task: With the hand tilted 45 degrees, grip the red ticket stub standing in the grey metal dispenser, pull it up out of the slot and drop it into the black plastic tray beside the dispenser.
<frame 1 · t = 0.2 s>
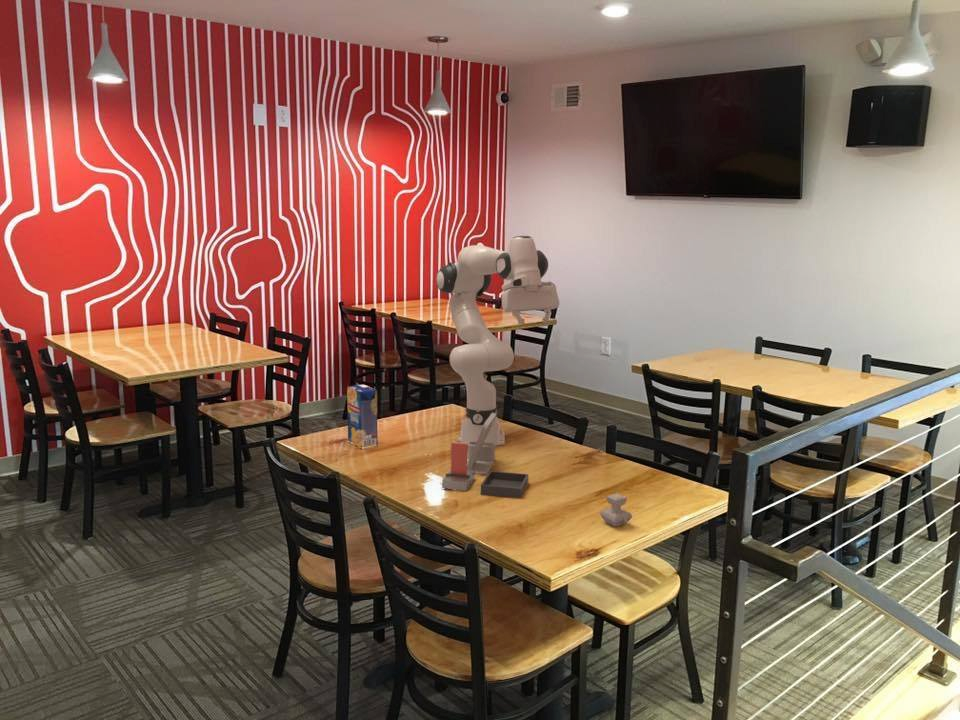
hand: (534, 323, 257), 52 cm above the table, tool tilted 20°, fingers open, 8 cm apart
phone holder: (477, 466, 273), on the table
stamp: (615, 524, 225), on the table
beverage box: (362, 444, 296), on the table
tray: (504, 488, 251), on the table
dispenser: (458, 483, 255), on the table
ticket: (458, 483, 255), resting in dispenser
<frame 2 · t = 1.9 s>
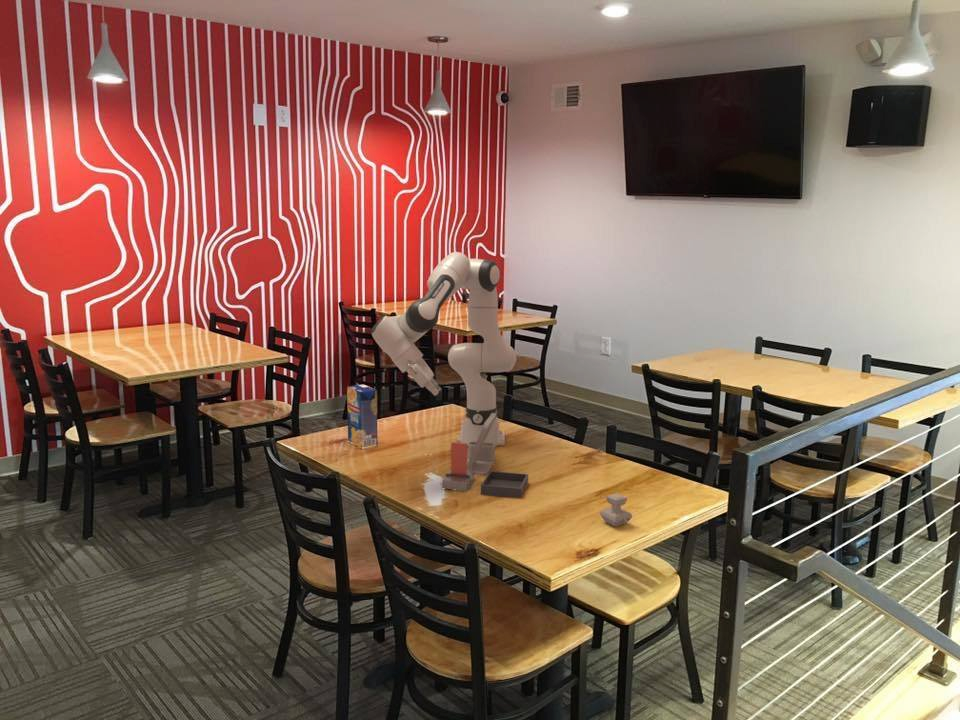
hand: (438, 392, 250), 30 cm above the table, tool tilted 40°, fingers open, 8 cm apart
nothing on the table moved.
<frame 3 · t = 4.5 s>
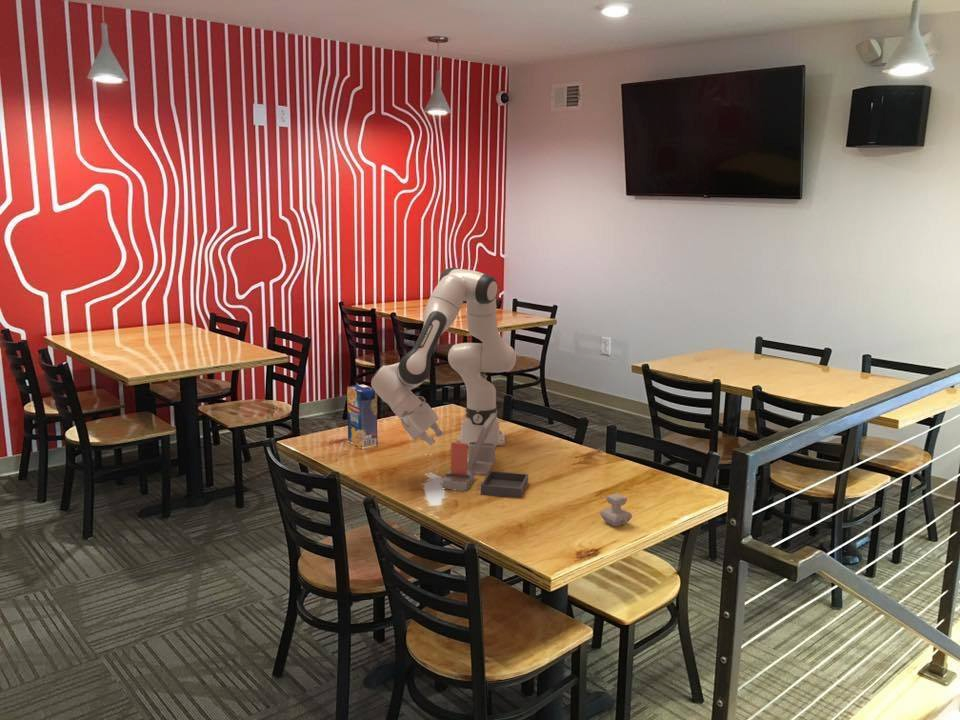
hand: (437, 439, 254), 15 cm above the table, tool tilted 45°, fingers open, 8 cm apart
nothing on the table moved.
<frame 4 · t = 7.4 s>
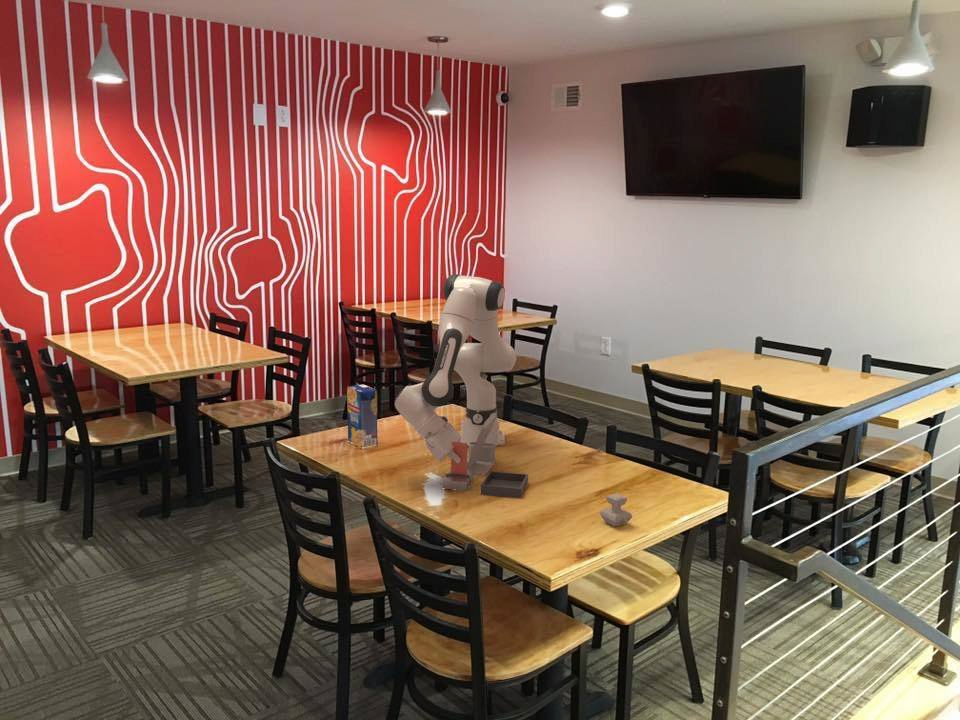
hand: (461, 460, 253), 8 cm above the table, tool tilted 45°, fingers closed on ticket, 1 cm apart
ticket: (458, 483, 255), resting in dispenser, touching gripper
everything else where it was.
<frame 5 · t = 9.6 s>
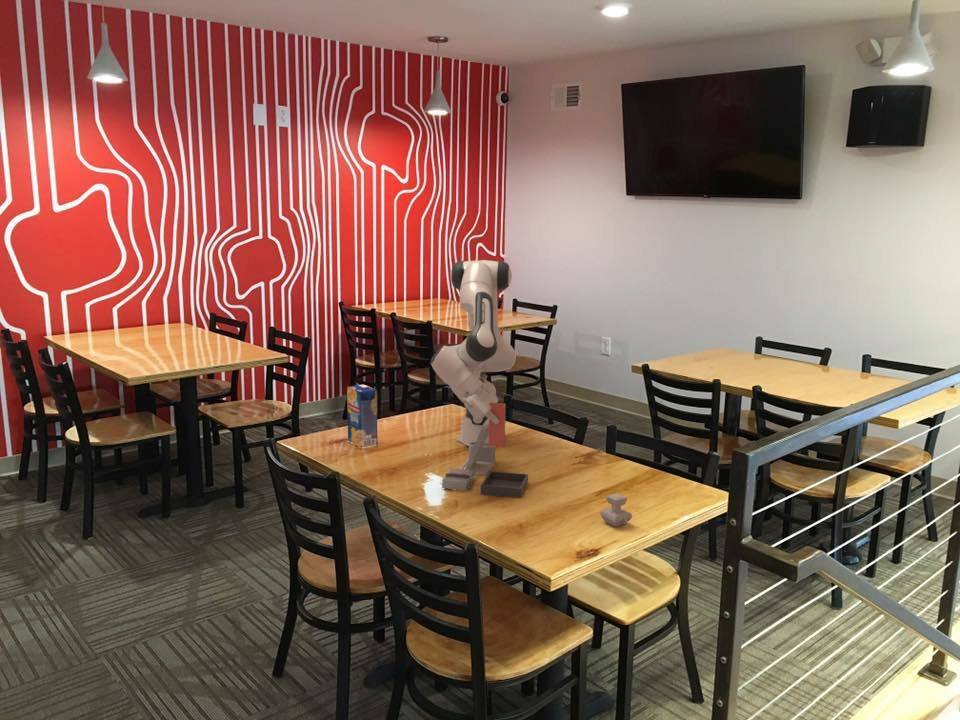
hand: (499, 421, 247), 22 cm above the table, tool tilted 45°, fingers closed on ticket
ticket: (496, 445, 249), point 14 cm above the table, touching gripper
everything else where it was.
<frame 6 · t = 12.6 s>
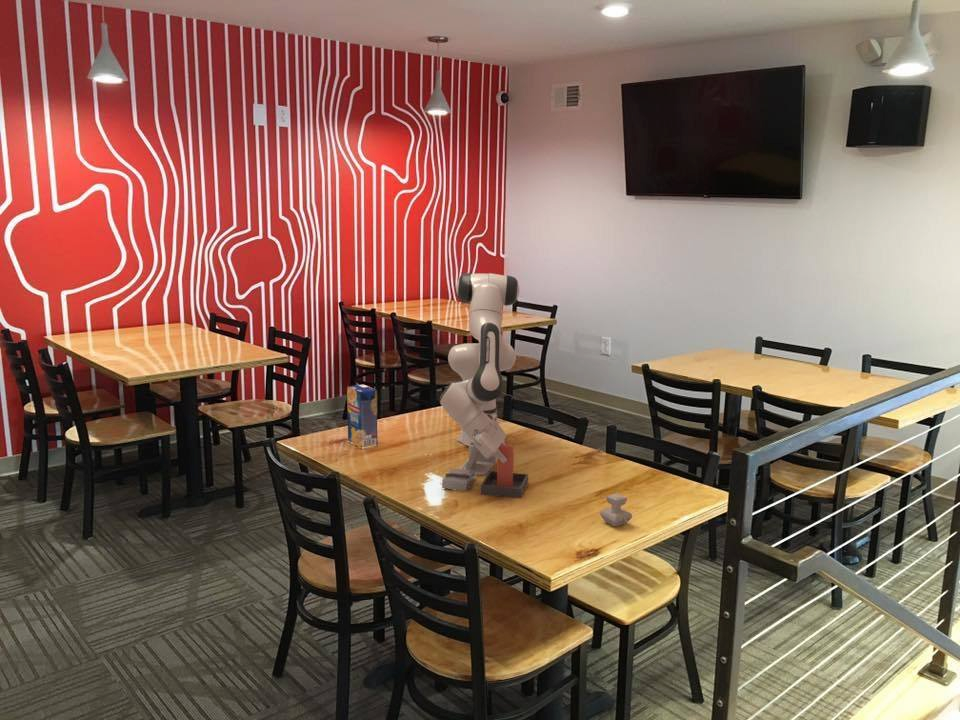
hand: (507, 458, 249), 10 cm above the table, tool tilted 45°, fingers open, 5 cm apart
ticket: (504, 486, 251), point 1 cm above the table, touching tray
everything else where it was.
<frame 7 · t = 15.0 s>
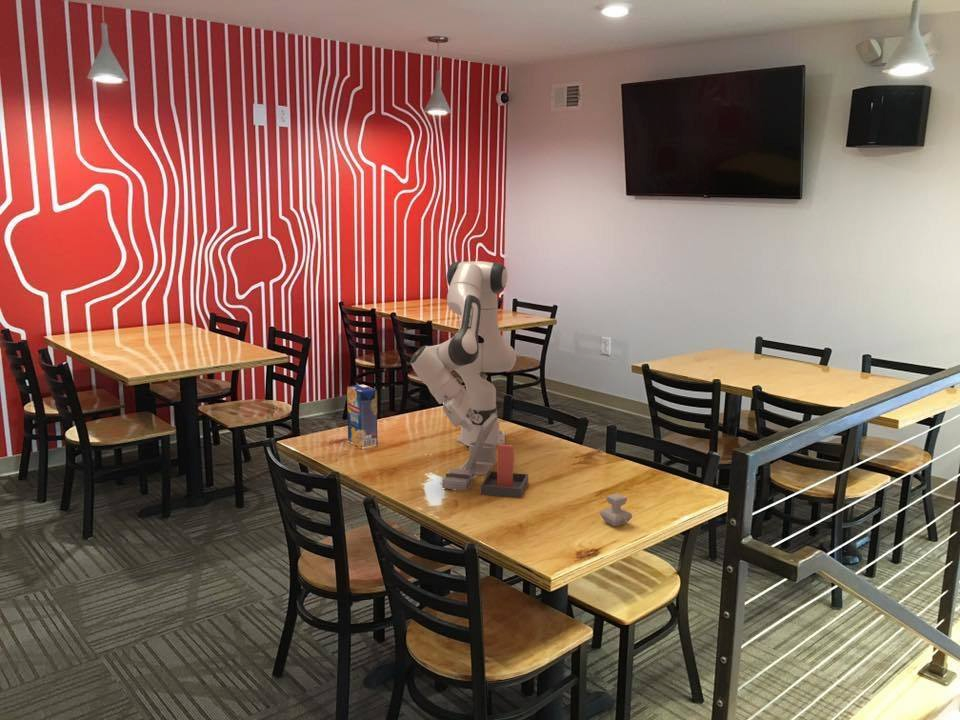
hand: (472, 424, 251), 20 cm above the table, tool tilted 35°, fingers open, 8 cm apart
nothing on the table moved.
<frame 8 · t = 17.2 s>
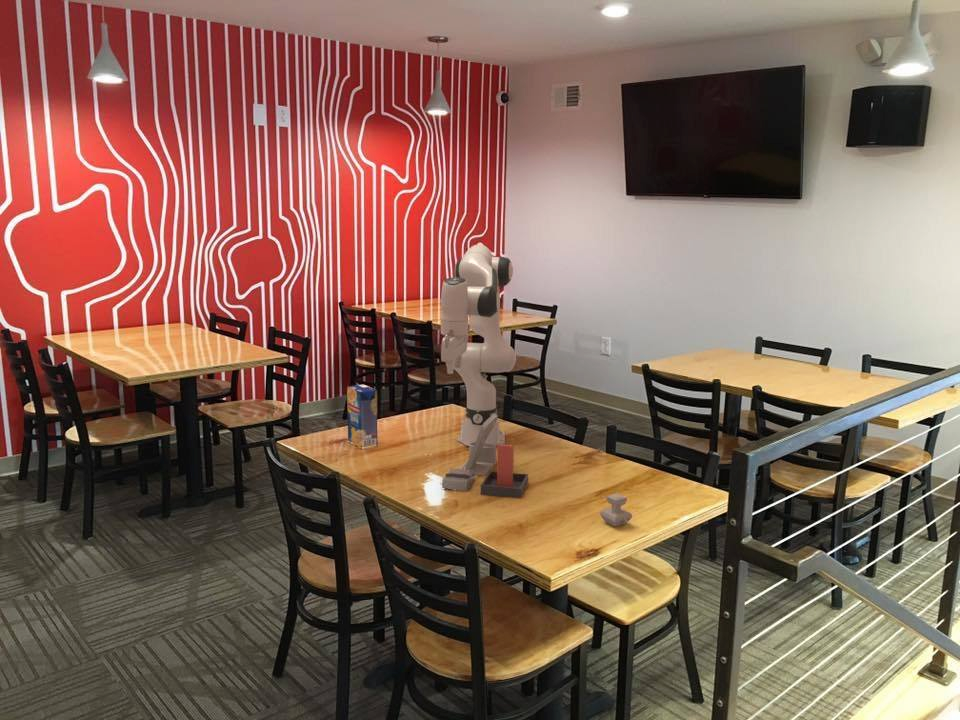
hand: (454, 370, 252), 37 cm above the table, tool pointing down, fingers open, 8 cm apart
nothing on the table moved.
at the end: ticket inside the target area on the tray (0.0 cm from its centre), point 0.6 cm above the tray's base; ticket touching tray; the gripper is holding nothing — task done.
